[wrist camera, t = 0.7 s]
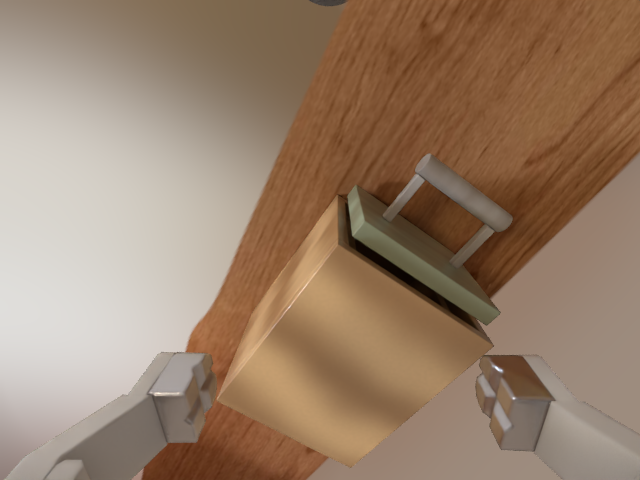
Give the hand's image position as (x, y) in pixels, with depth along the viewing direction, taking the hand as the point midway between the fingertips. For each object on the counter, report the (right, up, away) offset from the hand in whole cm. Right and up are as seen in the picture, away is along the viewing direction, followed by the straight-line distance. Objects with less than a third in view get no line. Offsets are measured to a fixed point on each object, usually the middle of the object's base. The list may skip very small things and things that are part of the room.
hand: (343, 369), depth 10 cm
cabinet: (+1, -1, +21) cm, 21 cm away
